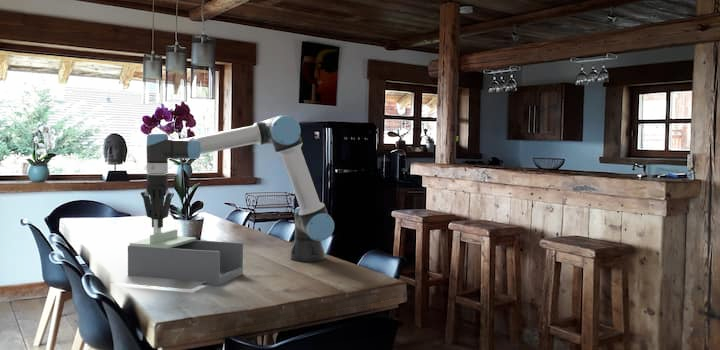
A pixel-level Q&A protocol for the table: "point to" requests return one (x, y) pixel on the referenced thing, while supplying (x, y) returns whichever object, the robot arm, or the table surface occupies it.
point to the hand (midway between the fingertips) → (157, 236)
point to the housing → (188, 261)
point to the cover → (163, 240)
